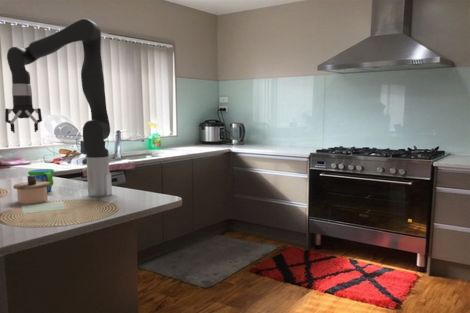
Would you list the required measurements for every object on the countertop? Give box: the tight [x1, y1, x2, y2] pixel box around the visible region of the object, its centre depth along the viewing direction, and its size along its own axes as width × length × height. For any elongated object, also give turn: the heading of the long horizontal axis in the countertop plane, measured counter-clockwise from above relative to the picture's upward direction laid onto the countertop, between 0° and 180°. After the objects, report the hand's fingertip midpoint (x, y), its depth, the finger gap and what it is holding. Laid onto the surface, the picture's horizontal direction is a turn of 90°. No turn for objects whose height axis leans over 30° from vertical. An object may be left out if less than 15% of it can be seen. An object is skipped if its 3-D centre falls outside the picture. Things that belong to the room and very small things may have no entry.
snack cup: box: [27, 168, 55, 193], centre depth 192 cm, size 16×10×10 cm
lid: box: [13, 175, 50, 190], centre depth 171 cm, size 14×14×4 cm
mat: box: [21, 200, 68, 215], centre depth 159 cm, size 15×15×1 cm
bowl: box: [16, 187, 49, 205], centre depth 171 cm, size 11×11×6 cm
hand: (24, 132), depth 182 cm, fingers open, 8 cm apart
